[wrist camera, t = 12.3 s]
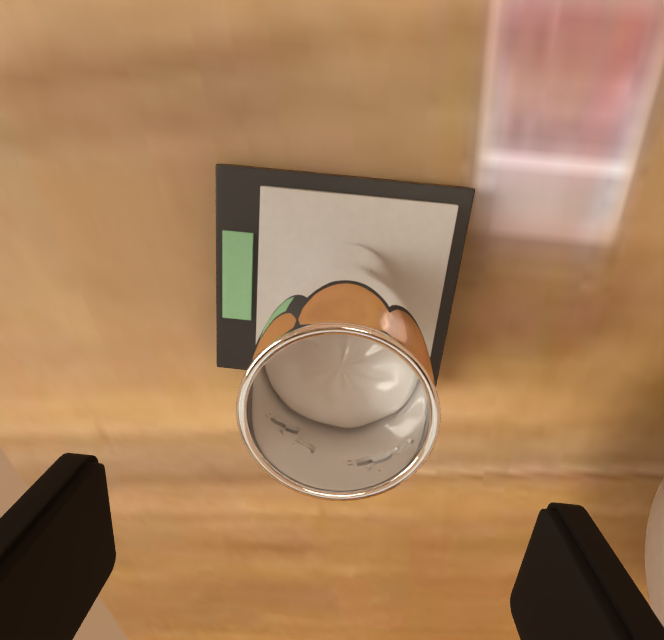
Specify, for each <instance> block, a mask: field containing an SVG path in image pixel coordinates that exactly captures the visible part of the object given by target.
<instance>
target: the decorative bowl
mask: <svg viewBox="0 0 664 640" xmlns="http://www.w3.org/2000/svg"><path fill="white" fill-rule="evenodd" d="M645 575H646V584H647V591H648V597H649V602H650V607H651V609H652V610H653V612H654V613H655V615H656V616H657V618H658V619H659V621H660V622H661V624H662V625H663V627H664V478H663V480H662V482H661V484H660V485H659V487H658V490H657V492H656V495H655V497H654V500H653V503H652V506H651V509H650V513H649V518H648V523H647V528H646V537H645Z"/></svg>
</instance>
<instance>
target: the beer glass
mask: <svg viewBox="0 0 664 640" xmlns="http://www.w3.org/2000/svg"><path fill="white" fill-rule="evenodd" d="M236 417H237V424H238V429H239V432H240V435H241V438H242V441H243V443H244V445H245V447H246V449H247V450H248V452H249V454H250V455H251V457H252V458H253V459H254V461H255V462H256V463H257V464H258V465H259V466H260V468H261V469H262V470H263V471H265V472H266V473H267V474H268V475H269V476H270V477H272V478H273V479H274V480H276V481H277V482H279V483H280V484H282V485H283V486H285V487H287V488H289V489H291V490H293V491H295V492H298V493H300V494H303V495H306V496H310V497H313V498H318V499H323V500H332V501H351V500H360V499H365V498H369V497H373V496H376V495H379V494H382V493H385V492H387V491H389V490H391V489H393V488H395V487H397V486H398V485H400V484H402V483H403V482H405V481H406V480H407V479H408V478H410V477H411V476H412V475H413V474H414V473H415V472H416V471H417V470H418V469H419V468H420V467H421V466H422V465H423V464H424V462H425V461H426V459H427V458H428V456H429V455H430V453H431V451H432V449H433V447H434V445H435V442H436V439H437V436H438V432H439V427H440V403H439V398H438V394H437V390H436V388H435V383H434V377H433V371H432V366H431V361H430V356H429V353H428V349H427V346H426V343H425V339H424V336H423V334H422V331H421V329H420V327H419V325H418V323H417V321H416V319H415V317H414V315H413V313H412V311H411V310H410V308H409V307H408V306H407V304H406V303H405V302H404V301H403V299H402V298H401V297H400V296H399V295H398V294H397V293H396V292H395V283H394V278H393V275H392V273H391V271H390V269H389V267H388V265H387V264H386V263H385V261H384V260H383V259H382V258H381V257H380V256H379V255H377V254H376V253H375V252H373V251H371V250H370V249H367V248H365V247H362V246H358V245H350V244H345V245H337V246H333V247H330V248H328V249H326V250H324V251H322V252H321V253H319V254H318V255H317V256H315V257H314V258H313V259H312V261H311V262H310V263H309V264H308V266H307V268H306V269H305V272H304V274H303V277H302V281H301V284H300V285H298V286H297V287H296V288H295V289H294V290H292V291H291V292H290V293H289V294H288V295H287V296H286V297H285V298H284V299H283V300H282V301H281V302H280V303H279V305H278V306H277V308H276V309H275V310H274V312H273V313H272V315H271V316H270V318H269V319H268V321H267V323H266V324H265V326H264V328H263V330H262V332H261V335H260V337H259V339H258V341H257V343H256V346H255V349H254V351H253V354H252V357H251V359H250V362H249V365H248V368H247V371H246V372H245V374H244V376H243V379H242V381H241V384H240V387H239V390H238V395H237V402H236Z"/></svg>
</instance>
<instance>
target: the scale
mask: <svg viewBox="0 0 664 640" xmlns="http://www.w3.org/2000/svg"><path fill="white" fill-rule="evenodd" d="M474 193H475V189H474V188H469V187H461V186H451V185H440V184H430V183H419V182H409V181H399V180H388V179H378V178H367V177H357V176H347V175H336V174H326V173H315V172H305V171H295V170H284V169H274V168H263V167H253V166H243V165H232V164H216V305H217V367H224V368H233V369H243V370H247V368H248V365H249V362H250V359H251V357H252V354H253V351H254V349H255V346H256V343H257V341H258V339H259V337H260V335H261V332H262V330H263V328H264V326H265V324H266V323H267V321H268V319H269V318H270V316H271V315H272V313H273V312H274V310H275V309H276V308H277V306H278V305H279V303H280V302H281V301H282V300H283V299H284V298H285V297H286V296H287V295H288V294H289V293H290V292H291V291H292V290H294V289H295V288H296V287H297V286H298V285H300V284H301V281H302V277H303V274H304V272H305V269H306V268H307V266H308V264H309V263H310V262H311V261H312V259H313V258H314V257H315V256H317V255H318V254H319V253H321V252H322V251H324V250H326V249H328V248H330V247H333V246H337V245H345V244H350V245H358V246H362V247H365V248H367V249H370V250H371V251H373V252H375V253H376V254H377V255H379V256H380V257H381V258H382V259H383V260H384V261H385V263H386V264H387V265H388V267H389V269H390V271H391V273H392V275H393V278H394V283H395V292H396V293H397V294H398V295H399V296H400V297H401V298H402V299H403V301H404V302H405V303H406V304H407V306H408V307H409V308H410V310H411V311H412V313H413V315H414V317H415V319H416V321H417V323H418V325H419V327H420V329H421V331H422V334H423V336H424V339H425V343H426V346H427V349H428V353H429V356H430V361H431V366H432V371H433V377H434V383H435V388H436V384H437V379H438V374H439V369H440V364H441V359H442V354H443V349H444V344H445V339H446V334H447V329H448V324H449V319H450V314H451V309H452V304H453V298H454V293H455V288H456V283H457V278H458V273H459V268H460V263H461V258H462V253H463V248H464V243H465V238H466V233H467V228H468V223H469V218H470V213H471V208H472V203H473V198H474Z"/></svg>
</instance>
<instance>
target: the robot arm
mask: <svg viewBox="0 0 664 640" xmlns="http://www.w3.org/2000/svg"><path fill="white" fill-rule="evenodd" d="M115 559H116V551H115V543H114V535H113V528H112V520H111V512H110V505H109V497H108V489H107V481H106V474H105V468H104V465H103V464H101V463H98V459H97V458H96V457H95V456H93V455H83V454H74V453H66V454H63V455H62V456H61V457H59V458H58V460H57V461H56V462H55V463H54V464H53V465H52V466H51V467H50V468H49V469H48V470H47V471H46V472H45V473H44V474H43V475H42V476H41V477H40V478H39V479H38V480H37V481H36V482H35V483H34V484H33V485H32V486H31V487H30V488H29V489H28V490H27V491H26V492H25V493H24V494H23V495H22V496H21V498H20V499H19V500H18V501H17V502H16V503H15V504H14V505H13V506H12V507H11V508H10V509H9V510H8V511H7V512H6V513H5V514H4V515H3V516H2V517H1V518H0V640H72V639H73V638H74V636H75V634H76V632H77V631H78V629H79V627H80V626H81V624H82V622H83V620H84V618H85V617H86V615H87V613H88V612H89V610H90V608H91V606H92V605H93V603H94V601H95V600H96V598H97V596H98V595H99V593H100V591H101V589H102V588H103V586H104V584H105V582H106V581H107V579H108V577H109V576H110V574H111V572H112V569H113V567H114V563H115ZM510 607H511V613H512V616H513V619H514V622H515V625H516V628H517V631H518V633H519V636H520V639H521V640H664V627H663V625H662V624H661V622H660V621H659V619H658V618H657V616H656V615H655V613H654V612H653V610H652V609H651V607H650V606H649V604H648V603H647V601H646V600H645V598H644V597H643V595H642V594H641V592H640V591H639V589H638V588H637V586H636V585H635V583H634V582H633V580H632V579H631V577H630V576H629V574H628V573H627V571H626V570H625V568H624V567H623V565H622V564H621V562H620V561H619V559H618V558H617V556H616V555H615V553H614V552H613V550H612V548H611V547H610V545H609V544H608V542H607V541H606V539H605V538H604V536H603V535H602V533H601V532H600V530H599V529H598V527H597V526H596V524H595V523H594V521H593V520H592V518H591V517H590V515H589V514H588V512H587V511H586V510H585V509H584V507H582V506H580V505H573V504H563V503H550V504H549V505H548V507H547V509H542V510H541V511H540V513H539V515H538V518H537V521H536V524H535V527H534V529H533V532H532V535H531V538H530V541H529V544H528V547H527V550H526V553H525V556H524V558H523V561H522V564H521V567H520V570H519V573H518V576H517V579H516V582H515V584H514V587H513V590H512V593H511V597H510Z"/></svg>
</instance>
